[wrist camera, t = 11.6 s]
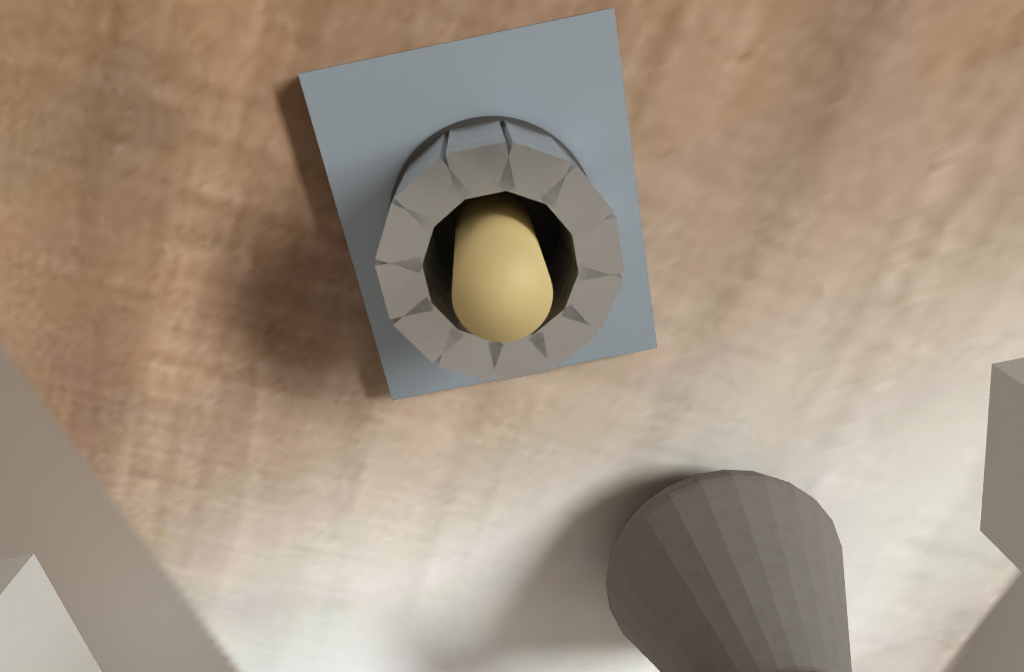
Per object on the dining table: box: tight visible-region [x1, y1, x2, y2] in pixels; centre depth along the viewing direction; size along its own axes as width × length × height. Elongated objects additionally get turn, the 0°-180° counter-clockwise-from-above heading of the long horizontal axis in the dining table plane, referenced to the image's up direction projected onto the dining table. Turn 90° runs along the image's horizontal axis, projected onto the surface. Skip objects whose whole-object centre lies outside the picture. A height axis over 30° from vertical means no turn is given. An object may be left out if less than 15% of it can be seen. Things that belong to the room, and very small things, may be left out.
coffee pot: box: [606, 470, 852, 672], centre depth 31 cm, size 21×12×15 cm, turn 77°
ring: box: [375, 120, 624, 381], centre depth 27 cm, size 8×8×6 cm
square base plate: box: [298, 8, 657, 400], centre depth 27 cm, size 14×12×10 cm
